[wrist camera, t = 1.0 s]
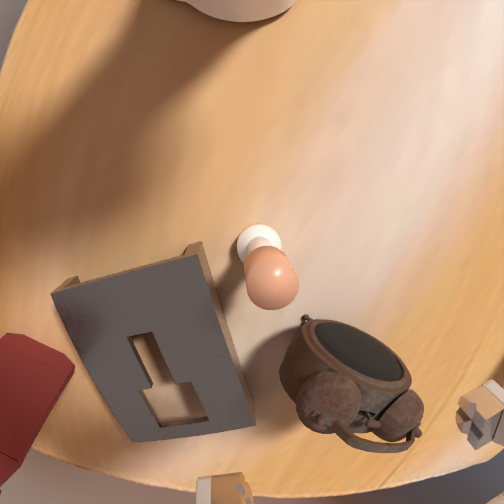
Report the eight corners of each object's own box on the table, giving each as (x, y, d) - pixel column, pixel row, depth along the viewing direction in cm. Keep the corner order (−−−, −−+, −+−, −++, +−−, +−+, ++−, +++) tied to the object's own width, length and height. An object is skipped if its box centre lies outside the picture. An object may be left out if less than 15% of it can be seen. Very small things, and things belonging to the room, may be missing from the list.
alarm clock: (384, 325, 41) (463, 419, 22) (358, 367, 43) (418, 471, 23) (289, 293, 39) (341, 407, 19) (266, 342, 40) (293, 468, 21)
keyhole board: (139, 419, 43) (132, 442, 38) (68, 278, 36) (50, 293, 31) (253, 401, 43) (256, 425, 38) (201, 241, 36) (197, 253, 31)
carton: (12, 353, 39) (-71, 456, 15) (11, 328, 37) (-85, 431, 13) (76, 383, 40) (11, 512, 16) (78, 359, 39) (1, 494, 15)
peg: (231, 229, 36) (234, 265, 24) (274, 218, 36) (297, 248, 24) (242, 269, 37) (249, 321, 25) (283, 259, 37) (308, 305, 25)
